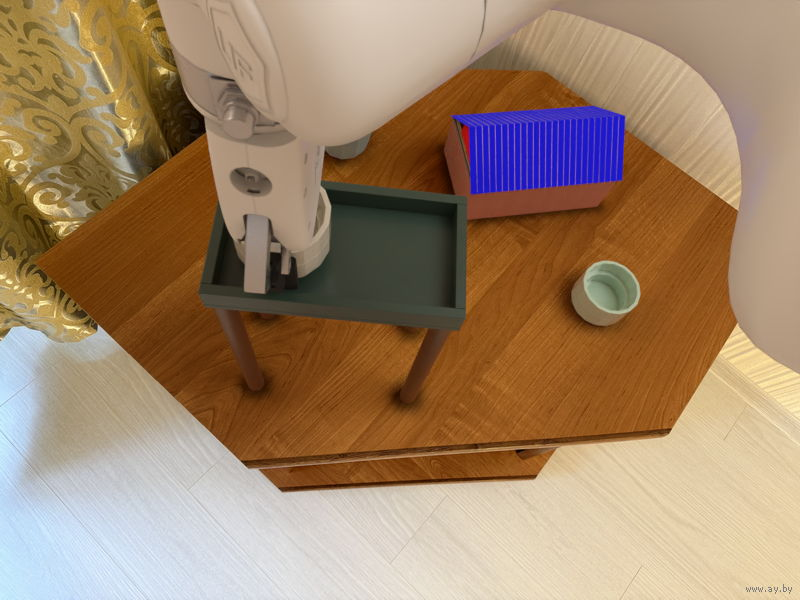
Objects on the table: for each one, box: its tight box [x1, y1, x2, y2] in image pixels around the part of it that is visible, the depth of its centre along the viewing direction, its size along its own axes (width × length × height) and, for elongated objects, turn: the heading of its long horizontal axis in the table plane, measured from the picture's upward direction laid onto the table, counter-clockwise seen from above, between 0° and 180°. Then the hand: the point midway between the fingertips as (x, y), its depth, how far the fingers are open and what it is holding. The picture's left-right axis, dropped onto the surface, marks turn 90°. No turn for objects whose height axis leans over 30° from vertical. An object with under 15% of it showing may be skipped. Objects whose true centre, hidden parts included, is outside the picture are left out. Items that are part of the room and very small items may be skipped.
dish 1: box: [233, 185, 331, 278], centre depth 43 cm, size 7×7×4 cm
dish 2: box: [570, 260, 641, 327], centre depth 73 cm, size 7×7×4 cm
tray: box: [197, 179, 468, 405], centre depth 57 cm, size 11×19×27 cm, turn 87°
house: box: [443, 105, 626, 221], centre depth 76 cm, size 12×20×12 cm, turn 100°
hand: (283, 236), depth 44 cm, fingers closed on dish 1, 7 cm apart
